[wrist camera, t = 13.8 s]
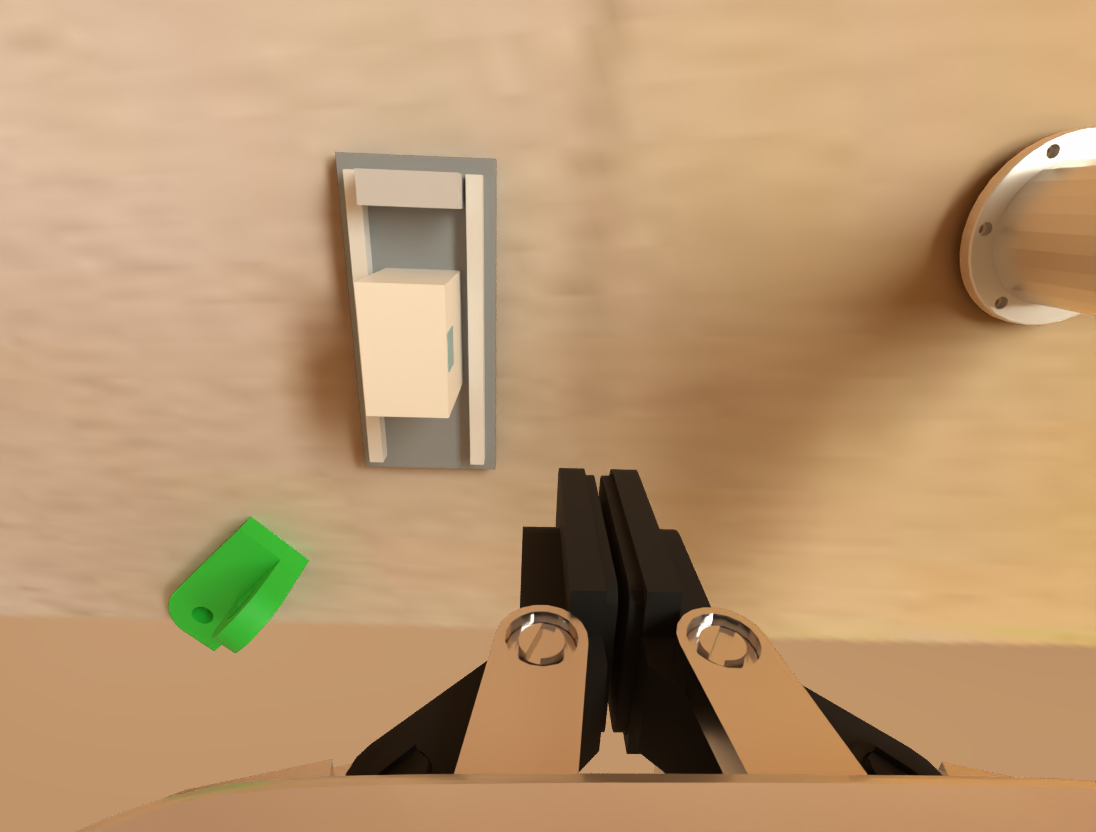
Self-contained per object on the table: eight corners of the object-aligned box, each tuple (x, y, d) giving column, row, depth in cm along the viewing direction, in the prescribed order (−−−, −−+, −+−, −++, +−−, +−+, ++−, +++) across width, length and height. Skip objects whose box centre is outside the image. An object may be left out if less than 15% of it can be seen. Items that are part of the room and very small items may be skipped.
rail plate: (496, 160, 35) (491, 155, 31) (495, 462, 43) (491, 488, 40) (341, 153, 35) (317, 147, 31) (369, 459, 43) (353, 485, 39)
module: (461, 270, 37) (445, 285, 30) (463, 382, 40) (449, 418, 33) (385, 267, 37) (352, 281, 30) (393, 380, 39) (365, 416, 33)
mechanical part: (252, 515, 45) (196, 577, 38) (309, 559, 47) (266, 626, 39) (168, 595, 48) (101, 668, 40) (226, 634, 49) (171, 710, 42)
